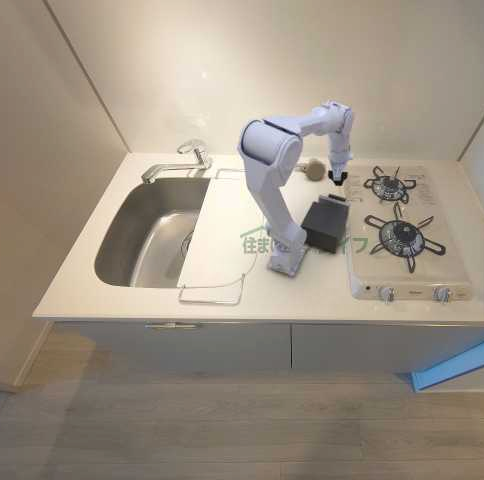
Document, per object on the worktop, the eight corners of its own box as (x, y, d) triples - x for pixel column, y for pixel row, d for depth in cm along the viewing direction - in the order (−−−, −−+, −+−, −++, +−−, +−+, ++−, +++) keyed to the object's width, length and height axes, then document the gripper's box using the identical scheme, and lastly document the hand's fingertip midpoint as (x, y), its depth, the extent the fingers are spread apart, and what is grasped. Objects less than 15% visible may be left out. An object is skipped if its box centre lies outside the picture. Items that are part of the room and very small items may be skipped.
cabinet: (312, 218, 90) (313, 201, 83) (345, 228, 87) (348, 211, 80) (300, 242, 84) (300, 225, 77) (335, 253, 82) (338, 237, 75)
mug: (320, 163, 107) (328, 151, 97) (318, 185, 105) (326, 176, 96) (302, 159, 105) (309, 147, 96) (300, 182, 104) (306, 173, 94)
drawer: (322, 201, 93) (323, 186, 88) (350, 209, 91) (354, 195, 85) (308, 228, 86) (308, 215, 81) (338, 238, 84) (341, 225, 78)
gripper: (351, 166, 68) (350, 194, 80) (355, 123, 73) (354, 156, 86) (324, 166, 69) (327, 194, 82) (330, 124, 74) (332, 156, 87)
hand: (339, 174), depth 84 cm, fingers open, 7 cm apart
